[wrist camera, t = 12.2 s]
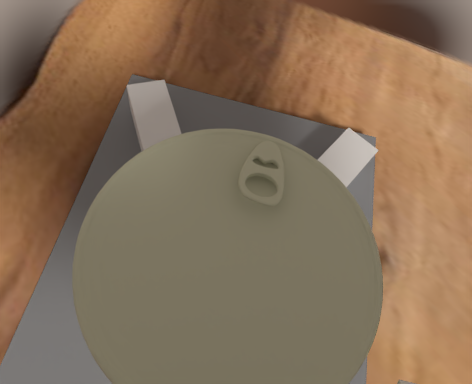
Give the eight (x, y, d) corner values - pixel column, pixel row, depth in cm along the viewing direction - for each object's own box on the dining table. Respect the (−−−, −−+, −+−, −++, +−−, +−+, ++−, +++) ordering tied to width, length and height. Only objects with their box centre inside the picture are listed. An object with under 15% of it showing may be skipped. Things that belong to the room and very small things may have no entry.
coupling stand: (367, 148, 30) (392, 117, 27) (350, 472, 20) (386, 491, 17) (133, 87, 30) (128, 48, 26) (0, 392, 20) (-38, 395, 16)
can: (300, 264, 23) (405, 167, 13) (265, 434, 19) (378, 499, 9) (158, 218, 23) (145, 83, 13) (91, 378, 19) (-12, 373, 9)
